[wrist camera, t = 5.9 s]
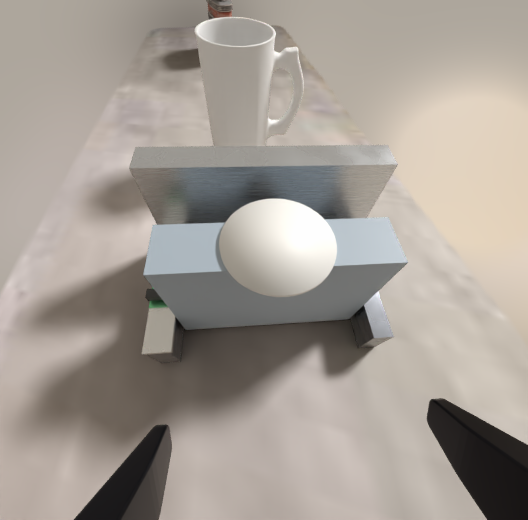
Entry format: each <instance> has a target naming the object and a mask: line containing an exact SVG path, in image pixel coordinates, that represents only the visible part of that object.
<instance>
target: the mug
mask: <svg viewBox="0 0 528 520" xmlns="http://www.w3.org/2000/svg"><path fill="white" fill-rule="evenodd" d="M195 34H196V38H197V45H198V52H199V60H200V66H201V72H202V78H203V84H204V90H205V96H206V103H207V109H208V115H209V121H210V127H211V134H212V139H213V144H214V146H266V142H267V139H268V138H269V137H271V136H274V135H285V134H286V132H287V130H288V128H289V126H290V125H291V123H292V121H293V119H294V117H295V115H296V113H297V111H298V109H299V106H300V103H301V100H302V96H303V86H304V85H303V75H302V70H301V66H300V62H299V57H298V48H297V47H292V48H285V49H284V50H283V51H282V52H281V53H277V52H275V51H274V40H275V36H276V32H275V30H274V29H273V28H272V27H271V26H269V25H268V24H266V23H264V22H261V21H258V20H254V19H249V18H242V17H221V18H214V19H210V20H207V21H204V22H202V23H200V24H199V25H197V26H196V28H195ZM278 69H284V70H286V71H288V72H289V74H290V76H291V78H292V82H293V94H292V99H291V102H290V105H289V107H288V109H287V111H286V113H285V114H284V115H283V116H282V117H281V118H280V119H278V120H271V119H269V103H270V91H271V80H272V75H273V73H274V71H276V70H278Z"/></svg>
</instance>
